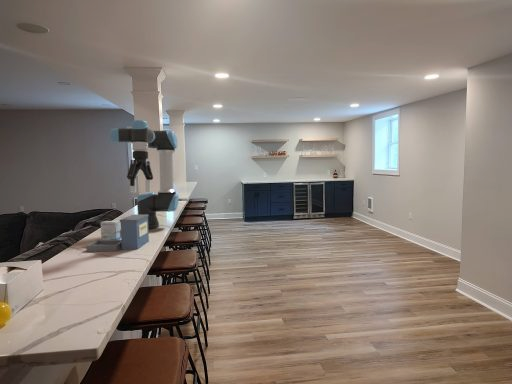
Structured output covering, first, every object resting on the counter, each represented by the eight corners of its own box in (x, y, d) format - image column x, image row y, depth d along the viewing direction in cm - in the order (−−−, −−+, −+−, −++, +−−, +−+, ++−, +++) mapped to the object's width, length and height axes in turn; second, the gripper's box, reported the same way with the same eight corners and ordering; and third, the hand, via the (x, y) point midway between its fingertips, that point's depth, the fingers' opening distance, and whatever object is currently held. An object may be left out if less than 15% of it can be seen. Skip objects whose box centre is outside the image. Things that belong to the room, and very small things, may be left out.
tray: (98, 245, 167) (97, 240, 166) (125, 245, 166) (125, 239, 166) (87, 251, 156) (86, 245, 156) (116, 251, 156) (116, 245, 155)
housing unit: (134, 241, 175) (132, 214, 174) (149, 241, 175) (148, 214, 174) (121, 249, 159) (119, 219, 157) (138, 249, 159) (137, 219, 157)
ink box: (121, 241, 175) (120, 220, 174) (116, 243, 170) (115, 222, 169) (106, 241, 176) (105, 220, 175) (101, 243, 171) (99, 222, 170)
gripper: (132, 148, 150) (133, 193, 150) (159, 153, 174) (159, 191, 175) (118, 148, 151) (119, 193, 152) (146, 153, 176) (147, 191, 176)
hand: (141, 192), depth 163 cm, fingers open, 13 cm apart
